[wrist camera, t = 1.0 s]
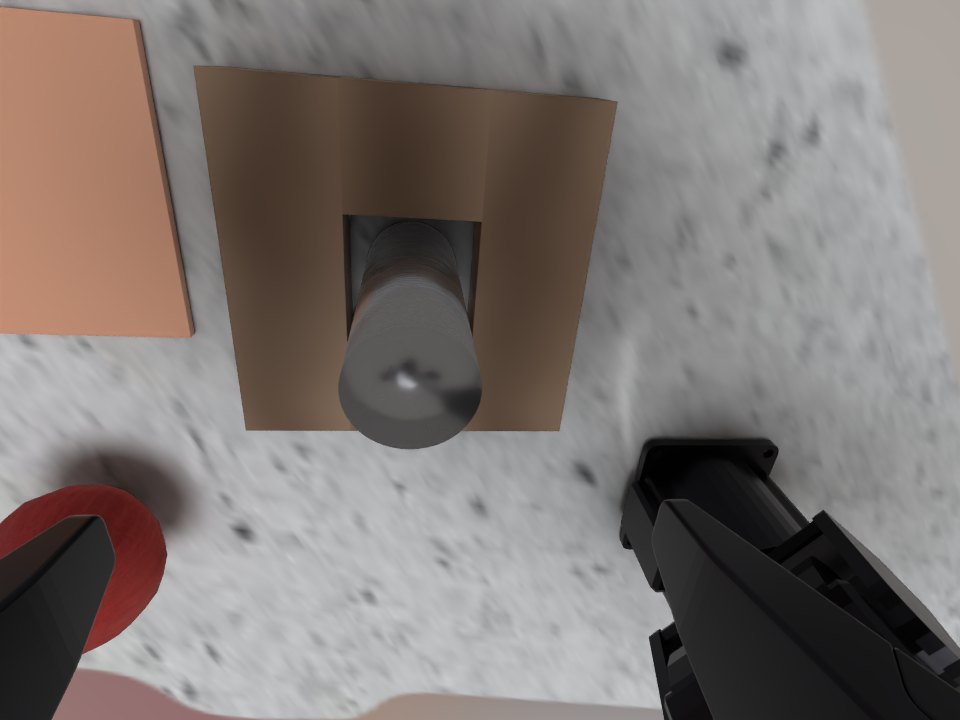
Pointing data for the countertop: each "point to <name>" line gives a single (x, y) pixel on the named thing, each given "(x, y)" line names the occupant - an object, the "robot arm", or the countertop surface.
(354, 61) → the countertop surface
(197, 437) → the countertop surface
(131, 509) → the onion
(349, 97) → the plate
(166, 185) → the tile
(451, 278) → the peg
